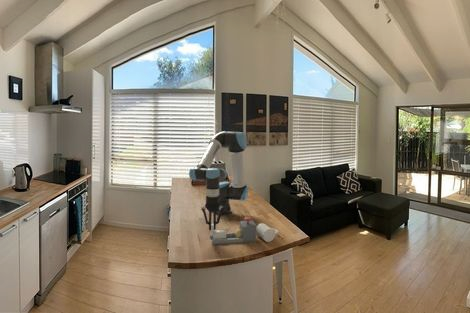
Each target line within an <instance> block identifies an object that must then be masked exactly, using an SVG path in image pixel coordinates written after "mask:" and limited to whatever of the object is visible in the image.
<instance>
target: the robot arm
mask: <svg viewBox="0 0 470 313" xmlns="http://www.w3.org/2000/svg"><path fill="white" fill-rule="evenodd" d="M247 143H248V139H247V136H246V134H245V133H244V132H241V131H221V132H218V133H216V134H214V136H213V137H211V139H210V141H209V142H208V146H207V147H206V150H205V151H204V154H203V155H202V157H201V158H200V160H199V161H198V164H197V166H196V167H191V168H190V169H189V173H188V176H189V179H191V180H193V181H202V182H203V181H204V182H205V204H204V205H203V206H202V207H201V208H200V209H201V211H202V212H203V217H204V221H205V224H206V225H208V230H209V231H210V234H211V236H214V231H217V230H216V228H217V227H216V225H219V223H220V220H221V217H222V215H227V214H230V213H231V212H232V207H231V204H230V200H233V201H240V202H242V201H246V200H247V198H248V194H249V188H250V187H249V186H248V185H247V183H246V181H245V178H244V176H245V175H244V158H243V153H244V152H245V149H247V146H248V144H247ZM225 148H226V149H228V152H229V153H230V163H231V175H232V176H231V178H232V181H231V183H230V181H225V179H226V178H227V176H228V174H227V171H226V170H225V169H224V168H218V167H211V165H213V162H214V160H215V159H216V156H217V154H218V152H219V151H221V149H225ZM206 210H207V211H208V216H207V212H206ZM212 214H213V215H212ZM212 217H213V218H212ZM212 221H213V222H212Z"/></svg>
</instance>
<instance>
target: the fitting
mask: <svg viewBox="0 0 470 313" xmlns="http://www.w3.org/2000/svg"><path fill="white" fill-rule="evenodd" d="M226 233H227V231H226V229H222V230H214V236H213V240H216V239H226Z"/></svg>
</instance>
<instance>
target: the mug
mask: <svg viewBox="0 0 470 313" xmlns="http://www.w3.org/2000/svg"><path fill="white" fill-rule="evenodd" d="M256 226H257V232H256V236H258V237H260V238H261V239H262V240H264V241H265V242H266V243H270V242H272V241H273V240H274V239H275V237H276V235H278V233H279V230H277V229H275V228H272V227H270V226H268V225H267V224H265V223H258V225H256Z"/></svg>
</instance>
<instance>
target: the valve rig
mask: <svg viewBox="0 0 470 313" xmlns="http://www.w3.org/2000/svg"><path fill="white" fill-rule="evenodd" d="M257 226H258V225H257V224H256V223H255V222H254V220H253V217H251V216H245V217H243V220H239V229H238V228H236V229H235V232H226V239H216V240H213V236H211V233H209V240H210V243H211V245H222V244H236V243H237V244H239V243H240V244H241V243H251V242H253V243H254V242H257V234H256V232H257Z"/></svg>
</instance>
